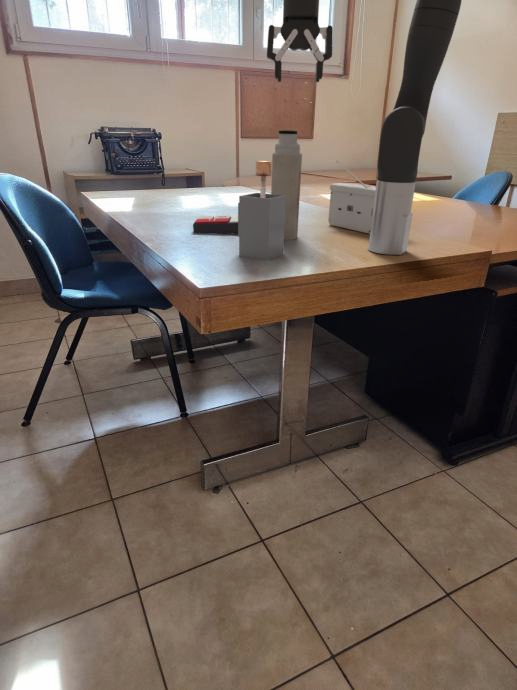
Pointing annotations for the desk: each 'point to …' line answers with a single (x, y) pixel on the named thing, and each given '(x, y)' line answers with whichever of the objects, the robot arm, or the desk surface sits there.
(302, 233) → the desk surface
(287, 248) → the desk surface
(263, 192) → the plunger
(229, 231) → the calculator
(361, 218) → the stereo radio cassette player
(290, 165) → the thermos bottle
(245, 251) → the grey hexagonal pencil cup
